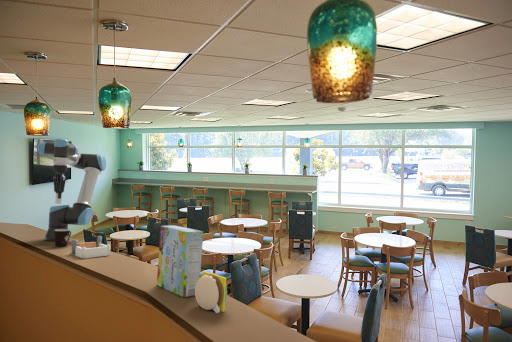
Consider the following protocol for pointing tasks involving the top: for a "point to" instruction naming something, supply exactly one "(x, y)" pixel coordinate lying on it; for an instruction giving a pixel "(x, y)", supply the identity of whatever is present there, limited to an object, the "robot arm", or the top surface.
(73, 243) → the gate
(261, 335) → the top surface
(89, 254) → the paddock fence
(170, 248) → the snack box
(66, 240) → the coffee mug
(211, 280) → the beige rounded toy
